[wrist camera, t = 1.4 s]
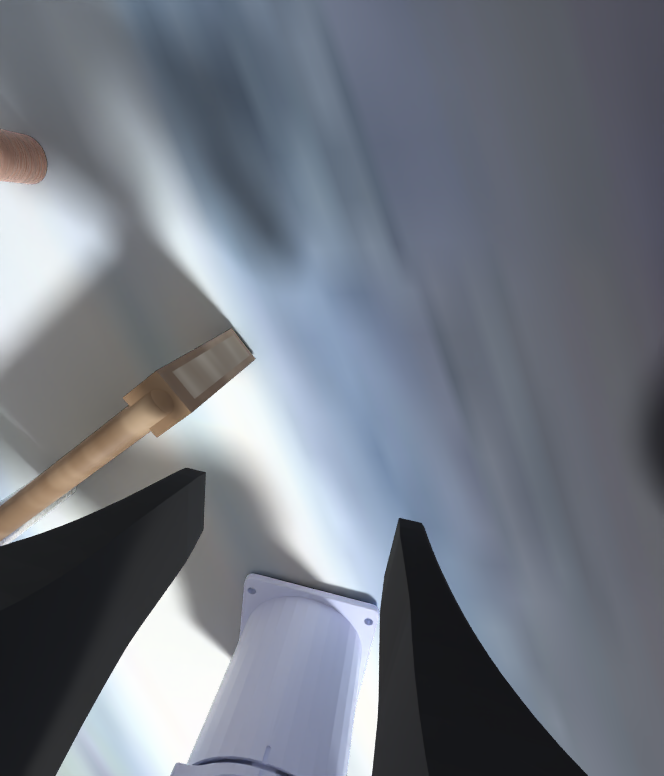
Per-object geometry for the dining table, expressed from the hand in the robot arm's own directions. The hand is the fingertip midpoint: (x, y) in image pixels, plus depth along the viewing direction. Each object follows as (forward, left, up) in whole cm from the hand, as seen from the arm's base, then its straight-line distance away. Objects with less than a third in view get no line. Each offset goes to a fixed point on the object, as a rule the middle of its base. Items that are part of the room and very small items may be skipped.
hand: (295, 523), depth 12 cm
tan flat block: (-3, +10, -9) cm, 14 cm away
